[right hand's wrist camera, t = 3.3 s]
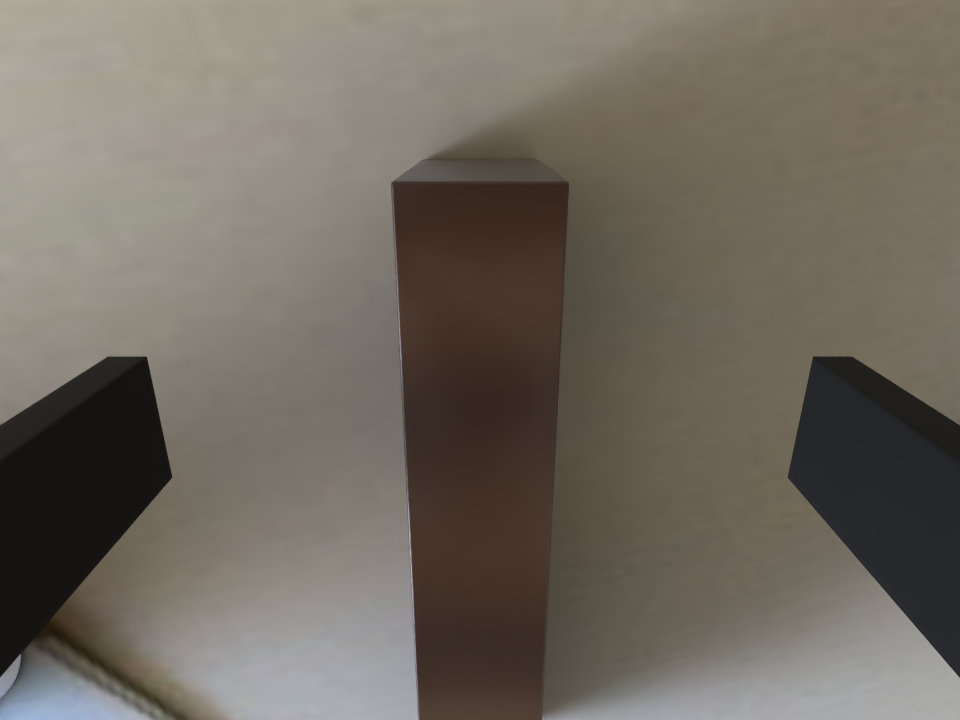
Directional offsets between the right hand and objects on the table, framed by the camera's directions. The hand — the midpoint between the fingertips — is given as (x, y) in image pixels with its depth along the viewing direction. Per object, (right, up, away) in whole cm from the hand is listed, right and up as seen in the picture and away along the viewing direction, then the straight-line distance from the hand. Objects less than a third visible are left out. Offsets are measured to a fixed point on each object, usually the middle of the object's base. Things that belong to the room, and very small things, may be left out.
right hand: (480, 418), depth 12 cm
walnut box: (0, -6, +20) cm, 21 cm away
